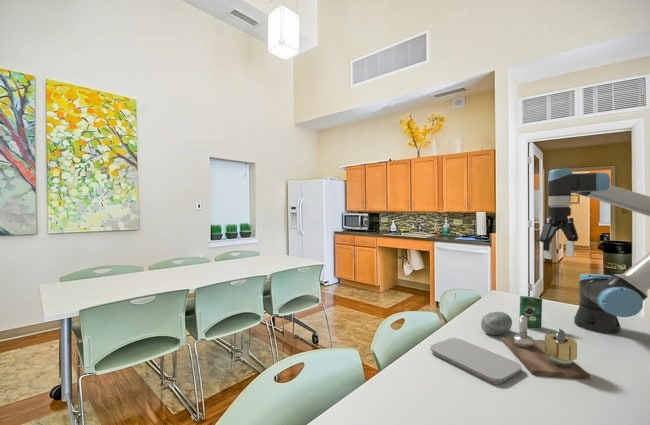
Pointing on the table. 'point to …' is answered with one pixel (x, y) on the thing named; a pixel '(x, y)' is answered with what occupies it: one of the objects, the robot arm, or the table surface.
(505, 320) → the grey marbled egg
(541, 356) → the walnut plate
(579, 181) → the robot arm
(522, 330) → the stand rod
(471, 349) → the tablet
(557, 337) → the metal peg stand
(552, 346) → the tan boxy piece
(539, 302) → the coffee box
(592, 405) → the table surface
